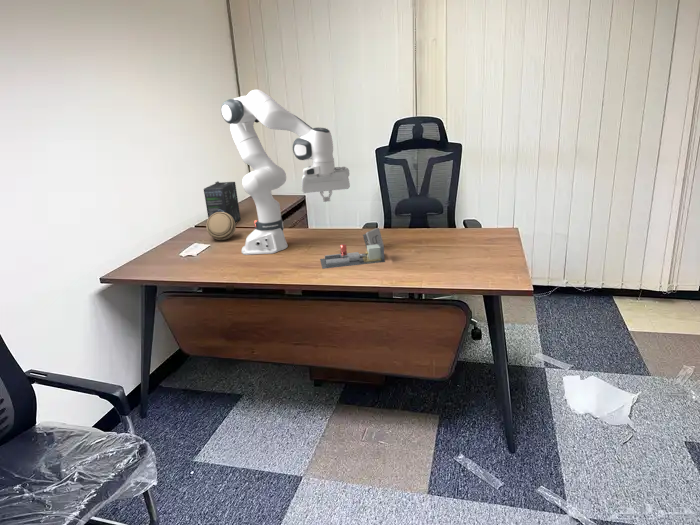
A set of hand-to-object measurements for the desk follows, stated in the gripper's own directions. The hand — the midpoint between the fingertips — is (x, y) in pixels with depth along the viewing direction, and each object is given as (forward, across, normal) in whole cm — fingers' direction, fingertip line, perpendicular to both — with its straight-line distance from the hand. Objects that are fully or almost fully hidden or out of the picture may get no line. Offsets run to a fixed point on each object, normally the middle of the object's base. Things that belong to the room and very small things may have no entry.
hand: (326, 201), depth 204 cm
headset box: (+27, +55, -88) cm, 107 cm away
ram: (+26, -9, +4) cm, 28 cm away
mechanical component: (+27, +53, -55) cm, 81 cm away
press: (+27, -8, +4) cm, 29 cm away
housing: (+26, -18, +4) cm, 32 cm away
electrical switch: (+27, -21, -12) cm, 36 cm away
